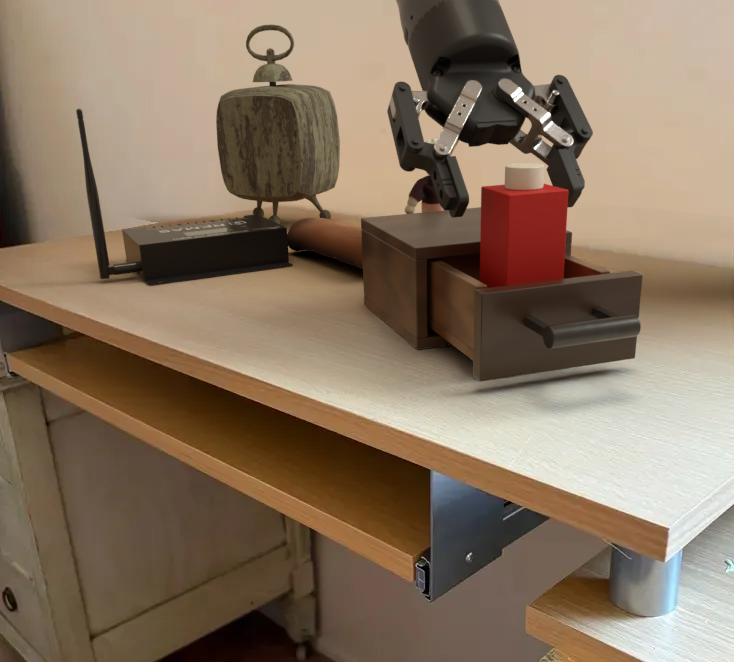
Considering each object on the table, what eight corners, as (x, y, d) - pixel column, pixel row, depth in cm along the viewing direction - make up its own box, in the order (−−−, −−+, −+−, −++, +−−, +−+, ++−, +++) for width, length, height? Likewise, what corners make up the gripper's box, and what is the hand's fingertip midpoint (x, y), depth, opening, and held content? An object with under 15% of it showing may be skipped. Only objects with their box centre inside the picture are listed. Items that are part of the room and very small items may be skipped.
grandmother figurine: (445, 251, 95) (444, 134, 90) (470, 255, 92) (471, 136, 87) (396, 263, 90) (394, 141, 85) (422, 268, 87) (421, 143, 82)
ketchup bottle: (531, 316, 63) (538, 159, 58) (560, 333, 59) (570, 166, 54) (478, 323, 62) (481, 164, 57) (504, 340, 58) (509, 170, 53)
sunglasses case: (438, 263, 86) (410, 212, 83) (391, 307, 85) (361, 257, 81) (347, 238, 101) (319, 193, 97) (305, 276, 99) (276, 231, 95)
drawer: (673, 378, 53) (683, 289, 51) (509, 405, 50) (512, 311, 48) (546, 311, 68) (549, 239, 66) (413, 328, 65) (412, 253, 63)
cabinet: (566, 329, 66) (572, 232, 63) (417, 350, 63) (415, 248, 60) (492, 289, 79) (494, 205, 76) (363, 304, 75) (360, 217, 72)
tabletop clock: (343, 220, 115) (334, 22, 105) (313, 233, 107) (300, 20, 98) (254, 216, 120) (237, 28, 111) (219, 228, 113) (198, 27, 103)
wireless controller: (255, 243, 102) (242, 96, 96) (294, 265, 91) (283, 99, 84) (88, 264, 95) (62, 105, 88) (107, 291, 83) (78, 110, 76)
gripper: (376, -9, 58) (436, 178, 52) (558, -12, 62) (633, 163, 56) (357, 72, 65) (409, 246, 59) (522, 65, 69) (586, 228, 63)
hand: (518, 205), depth 58 cm, fingers open, 8 cm apart
